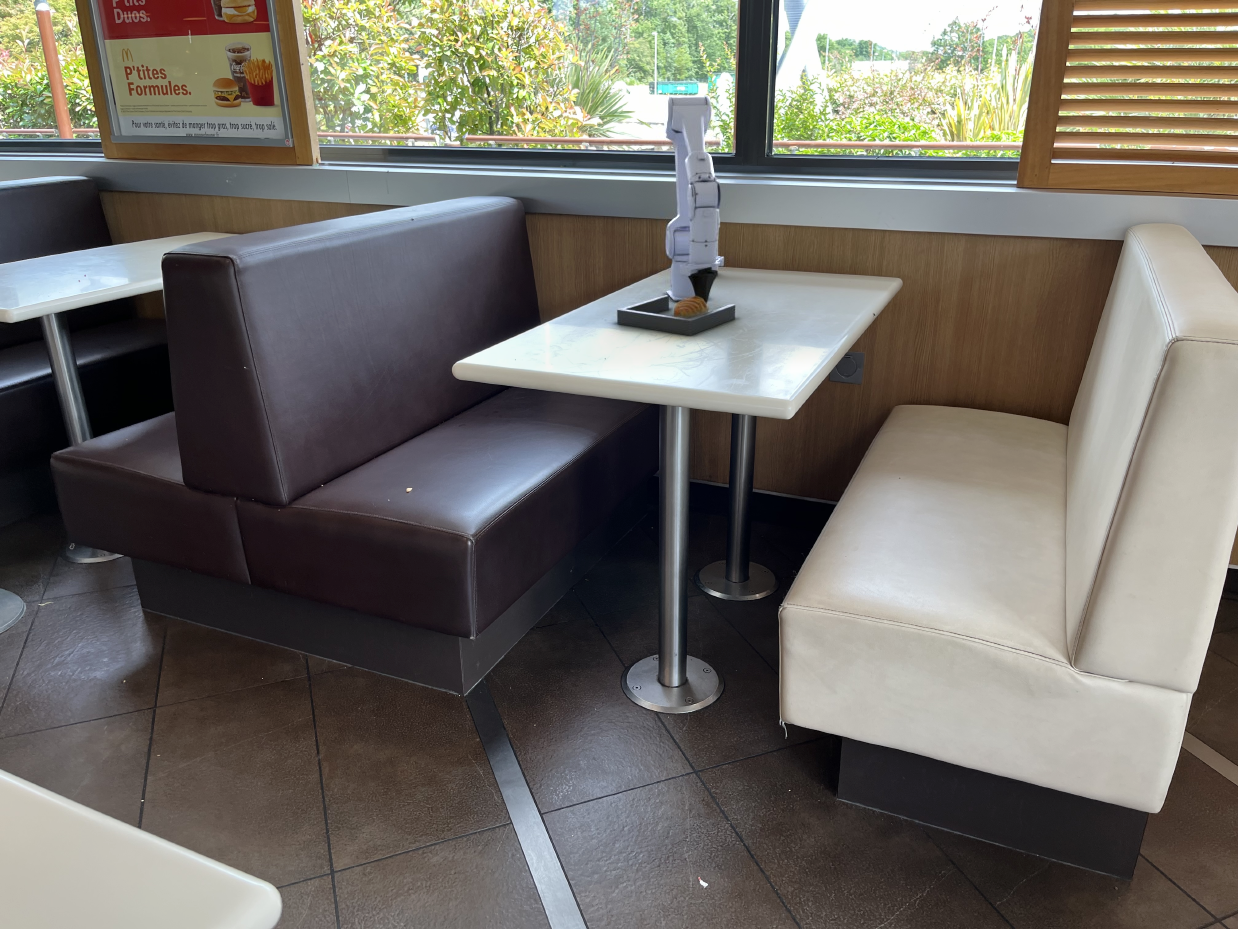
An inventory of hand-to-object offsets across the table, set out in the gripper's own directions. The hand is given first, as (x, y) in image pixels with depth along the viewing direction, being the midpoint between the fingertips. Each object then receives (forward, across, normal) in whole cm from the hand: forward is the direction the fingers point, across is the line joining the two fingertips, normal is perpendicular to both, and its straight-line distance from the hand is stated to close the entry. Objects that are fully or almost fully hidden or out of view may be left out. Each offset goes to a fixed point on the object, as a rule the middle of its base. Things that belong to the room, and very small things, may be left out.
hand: (701, 303), depth 195 cm
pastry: (+2, -5, 0) cm, 5 cm away
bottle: (+2, +39, +23) cm, 46 cm away
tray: (+2, -10, 0) cm, 10 cm away
